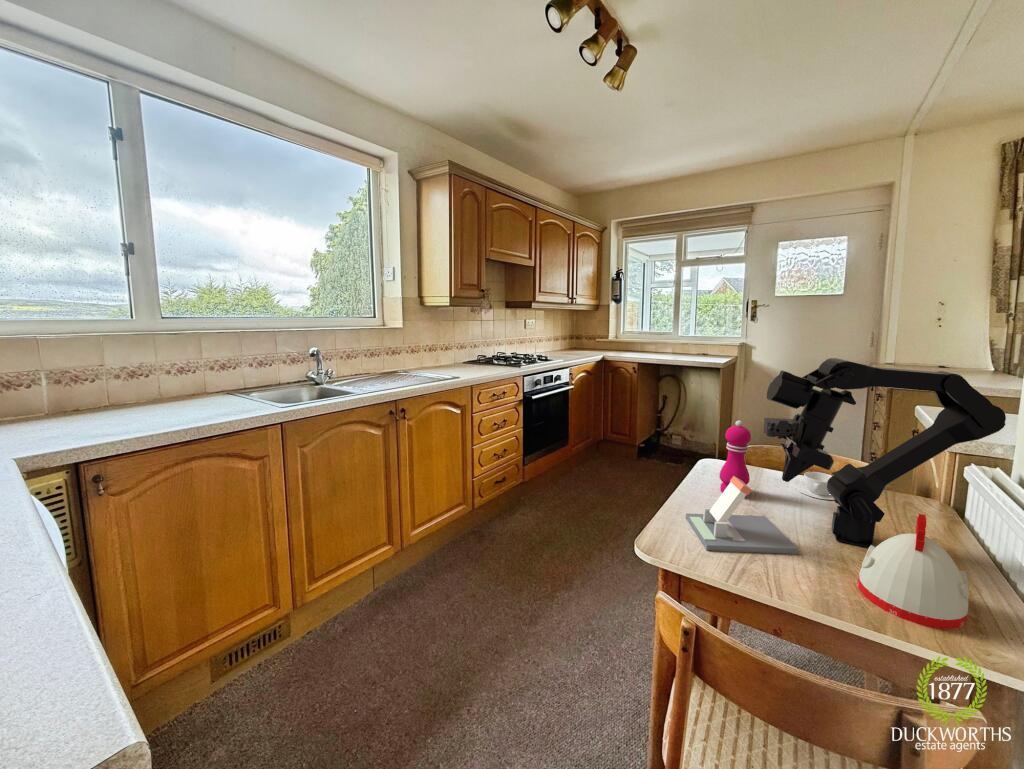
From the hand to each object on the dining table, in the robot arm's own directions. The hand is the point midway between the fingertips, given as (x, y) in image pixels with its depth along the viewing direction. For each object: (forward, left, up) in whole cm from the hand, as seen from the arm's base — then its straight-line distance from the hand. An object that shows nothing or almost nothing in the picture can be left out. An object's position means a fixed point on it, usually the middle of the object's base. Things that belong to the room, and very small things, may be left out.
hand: (784, 480), depth 96 cm
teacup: (-10, -29, -12) cm, 33 cm away
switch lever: (+13, +8, -8) cm, 17 cm away
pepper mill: (+10, -18, -12) cm, 24 cm away
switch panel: (+8, +6, -12) cm, 16 cm away
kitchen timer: (-19, +16, -12) cm, 28 cm away
